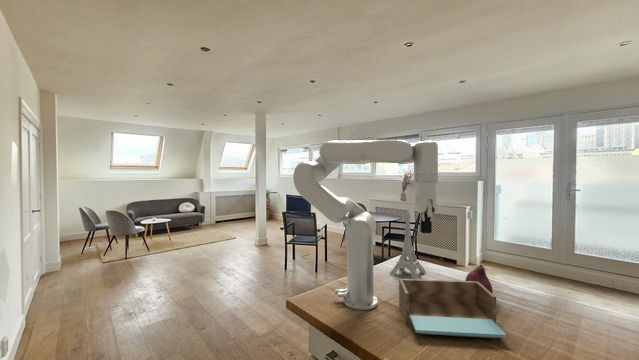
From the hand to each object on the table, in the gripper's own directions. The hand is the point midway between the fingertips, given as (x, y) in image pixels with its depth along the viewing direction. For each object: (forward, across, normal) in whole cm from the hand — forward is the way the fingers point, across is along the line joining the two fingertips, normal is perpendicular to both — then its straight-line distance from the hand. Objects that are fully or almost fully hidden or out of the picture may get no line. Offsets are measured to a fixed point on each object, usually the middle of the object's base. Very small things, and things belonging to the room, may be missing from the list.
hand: (425, 232), depth 92 cm
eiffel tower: (+28, -36, +1) cm, 45 cm away
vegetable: (+27, -13, +22) cm, 37 cm away
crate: (+27, +2, +5) cm, 28 cm away
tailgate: (+25, +8, +5) cm, 27 cm away
